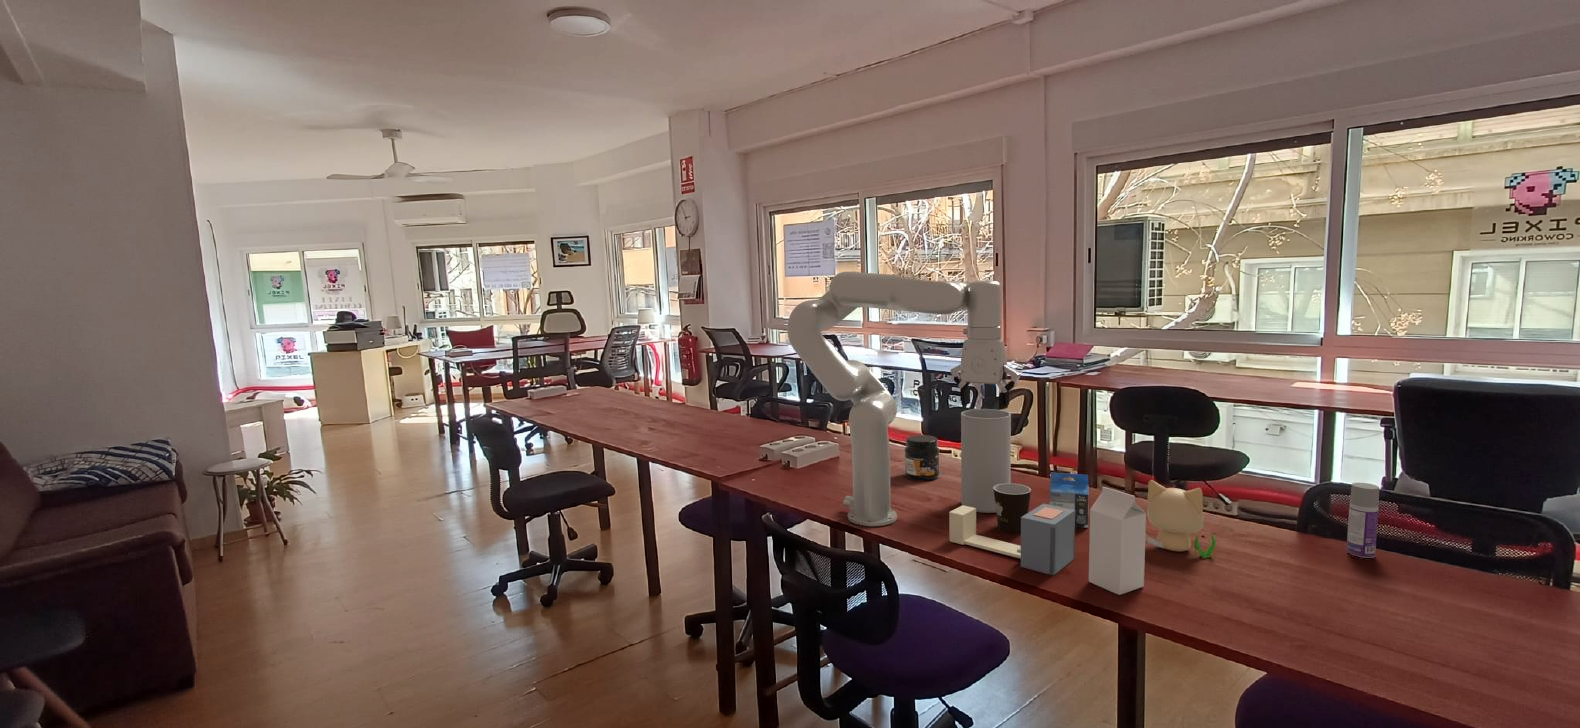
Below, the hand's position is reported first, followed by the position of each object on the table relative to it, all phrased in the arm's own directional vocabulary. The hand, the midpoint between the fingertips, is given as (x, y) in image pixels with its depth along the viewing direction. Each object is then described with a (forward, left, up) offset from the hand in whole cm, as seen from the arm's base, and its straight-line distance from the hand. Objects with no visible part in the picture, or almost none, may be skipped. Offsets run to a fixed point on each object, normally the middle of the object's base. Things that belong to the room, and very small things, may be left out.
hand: (984, 406), depth 164 cm
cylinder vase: (-8, +16, -31) cm, 35 cm away
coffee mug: (+4, +6, -31) cm, 31 cm away
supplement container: (-36, +29, -31) cm, 55 cm away
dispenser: (+19, -9, -30) cm, 37 cm away
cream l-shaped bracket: (+6, -9, -30) cm, 32 cm away
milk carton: (+34, -11, -31) cm, 47 cm away
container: (+68, +35, -31) cm, 82 cm away
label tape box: (+14, +16, -31) cm, 37 cm away
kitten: (+38, +15, -31) cm, 51 cm away
